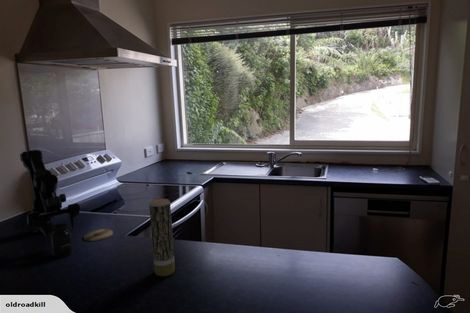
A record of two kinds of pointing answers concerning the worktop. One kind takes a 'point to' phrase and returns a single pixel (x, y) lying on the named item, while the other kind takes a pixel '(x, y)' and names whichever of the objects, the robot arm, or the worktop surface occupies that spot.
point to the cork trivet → (98, 235)
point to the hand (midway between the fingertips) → (59, 232)
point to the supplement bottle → (61, 241)
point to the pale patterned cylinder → (162, 237)
